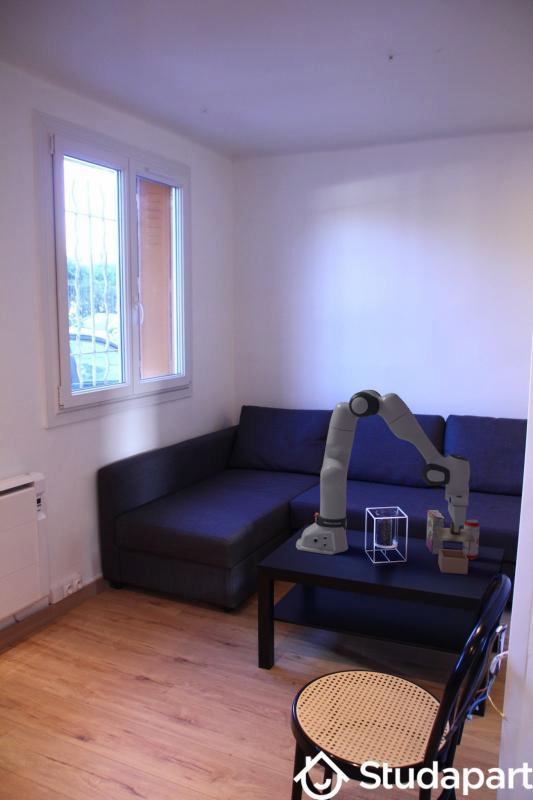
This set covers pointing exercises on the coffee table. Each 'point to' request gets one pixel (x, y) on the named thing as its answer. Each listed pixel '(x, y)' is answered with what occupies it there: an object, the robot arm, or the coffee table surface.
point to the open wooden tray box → (453, 561)
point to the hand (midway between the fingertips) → (455, 529)
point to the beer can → (472, 547)
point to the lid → (455, 534)
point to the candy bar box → (434, 531)
